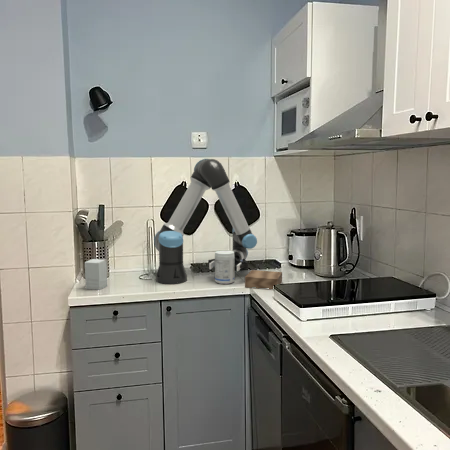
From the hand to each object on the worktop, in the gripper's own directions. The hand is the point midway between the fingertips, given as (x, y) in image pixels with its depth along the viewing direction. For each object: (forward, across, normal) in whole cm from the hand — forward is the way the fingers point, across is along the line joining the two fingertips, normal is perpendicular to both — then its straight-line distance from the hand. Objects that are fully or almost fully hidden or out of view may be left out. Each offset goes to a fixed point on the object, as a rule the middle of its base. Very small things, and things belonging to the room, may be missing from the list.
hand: (223, 267), depth 221 cm
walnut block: (-4, -19, -8) cm, 21 cm away
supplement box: (+23, +54, -8) cm, 60 cm away
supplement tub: (-3, 0, -8) cm, 8 cm away
